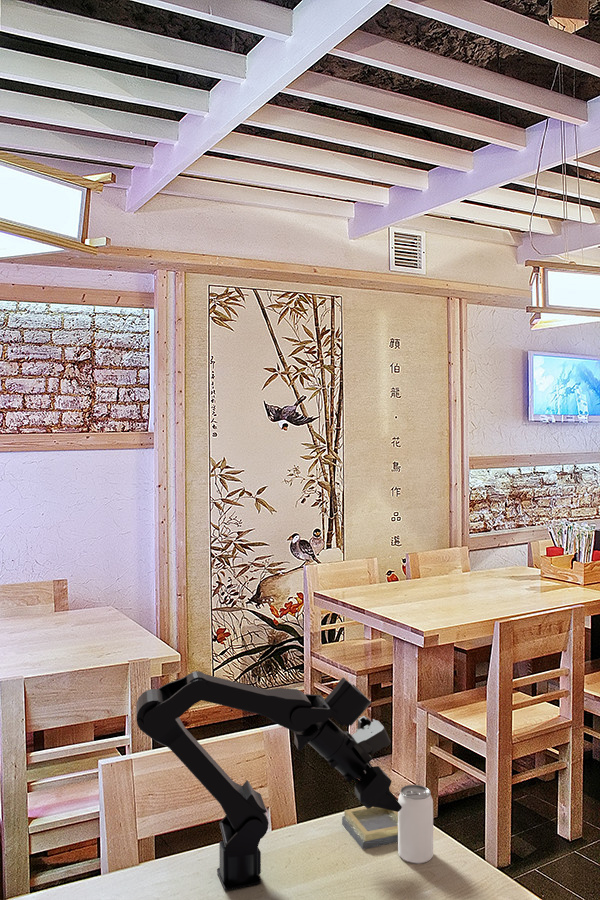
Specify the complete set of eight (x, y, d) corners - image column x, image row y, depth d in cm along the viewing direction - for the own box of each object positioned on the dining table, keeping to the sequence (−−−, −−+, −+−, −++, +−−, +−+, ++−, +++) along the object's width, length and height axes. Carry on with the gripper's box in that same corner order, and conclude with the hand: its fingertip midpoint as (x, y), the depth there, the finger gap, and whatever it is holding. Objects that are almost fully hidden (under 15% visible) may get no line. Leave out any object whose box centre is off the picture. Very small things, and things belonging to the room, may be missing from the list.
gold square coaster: (362, 849, 143) (362, 835, 143) (342, 823, 153) (342, 810, 153) (414, 839, 147) (414, 825, 147) (391, 814, 156) (391, 801, 156)
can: (435, 865, 138) (435, 799, 138) (400, 864, 138) (400, 799, 138) (430, 845, 145) (430, 783, 144) (396, 845, 145) (396, 783, 144)
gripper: (379, 729, 129) (440, 786, 132) (348, 693, 148) (402, 743, 150) (335, 780, 128) (397, 836, 131) (309, 737, 146) (364, 787, 149)
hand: (391, 797), depth 140 cm, fingers open, 9 cm apart
